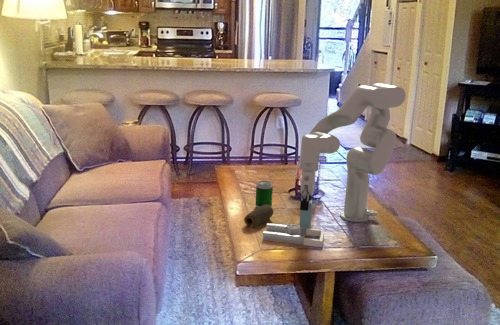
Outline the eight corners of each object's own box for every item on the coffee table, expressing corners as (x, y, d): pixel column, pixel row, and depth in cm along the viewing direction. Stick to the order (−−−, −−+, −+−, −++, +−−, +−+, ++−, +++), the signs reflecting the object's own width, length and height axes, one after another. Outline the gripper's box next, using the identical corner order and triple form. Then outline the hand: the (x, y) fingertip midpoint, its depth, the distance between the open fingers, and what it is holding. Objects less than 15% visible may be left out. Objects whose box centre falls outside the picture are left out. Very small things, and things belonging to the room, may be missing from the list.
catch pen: (323, 235, 203) (324, 230, 203) (321, 247, 193) (322, 241, 192) (306, 233, 205) (306, 228, 204) (303, 245, 194) (303, 239, 194)
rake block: (310, 227, 212) (312, 200, 208) (309, 232, 206) (311, 205, 203) (300, 226, 212) (302, 199, 209) (299, 231, 207) (301, 204, 204)
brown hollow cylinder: (259, 215, 223) (260, 201, 221) (274, 219, 219) (274, 204, 217) (242, 226, 210) (242, 211, 208) (256, 230, 207) (257, 215, 205)
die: (300, 240, 199) (301, 228, 197) (288, 241, 198) (288, 229, 196) (296, 235, 203) (297, 223, 202) (284, 235, 202) (285, 224, 201)
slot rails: (306, 234, 204) (306, 227, 203) (303, 244, 195) (304, 237, 194) (267, 229, 207) (267, 223, 206) (262, 239, 198) (263, 232, 197)
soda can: (270, 211, 228) (271, 186, 225) (253, 209, 229) (254, 184, 226) (272, 205, 235) (274, 181, 232) (257, 204, 236) (258, 179, 233)
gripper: (316, 172, 193) (312, 214, 197) (319, 161, 209) (316, 200, 214) (297, 170, 194) (293, 212, 198) (301, 159, 211) (298, 198, 215)
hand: (305, 206), depth 206 cm, fingers open, 9 cm apart
